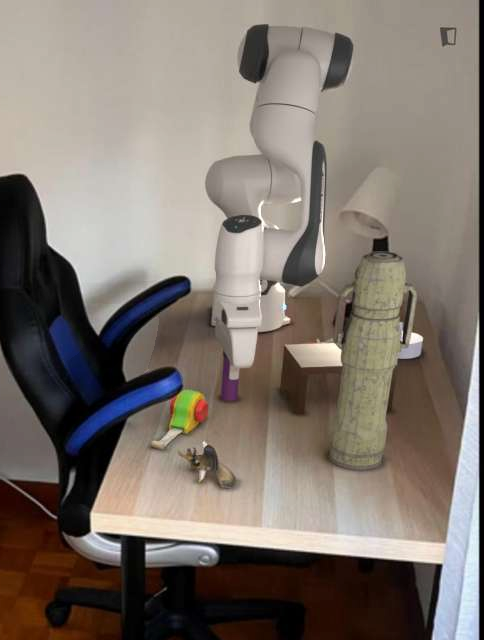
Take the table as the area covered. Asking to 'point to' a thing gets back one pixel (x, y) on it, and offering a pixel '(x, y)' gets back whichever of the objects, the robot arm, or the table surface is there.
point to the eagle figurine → (210, 465)
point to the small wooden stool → (312, 370)
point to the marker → (228, 383)
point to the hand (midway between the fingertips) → (230, 374)
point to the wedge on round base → (411, 346)
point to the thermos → (369, 357)
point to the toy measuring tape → (184, 415)
